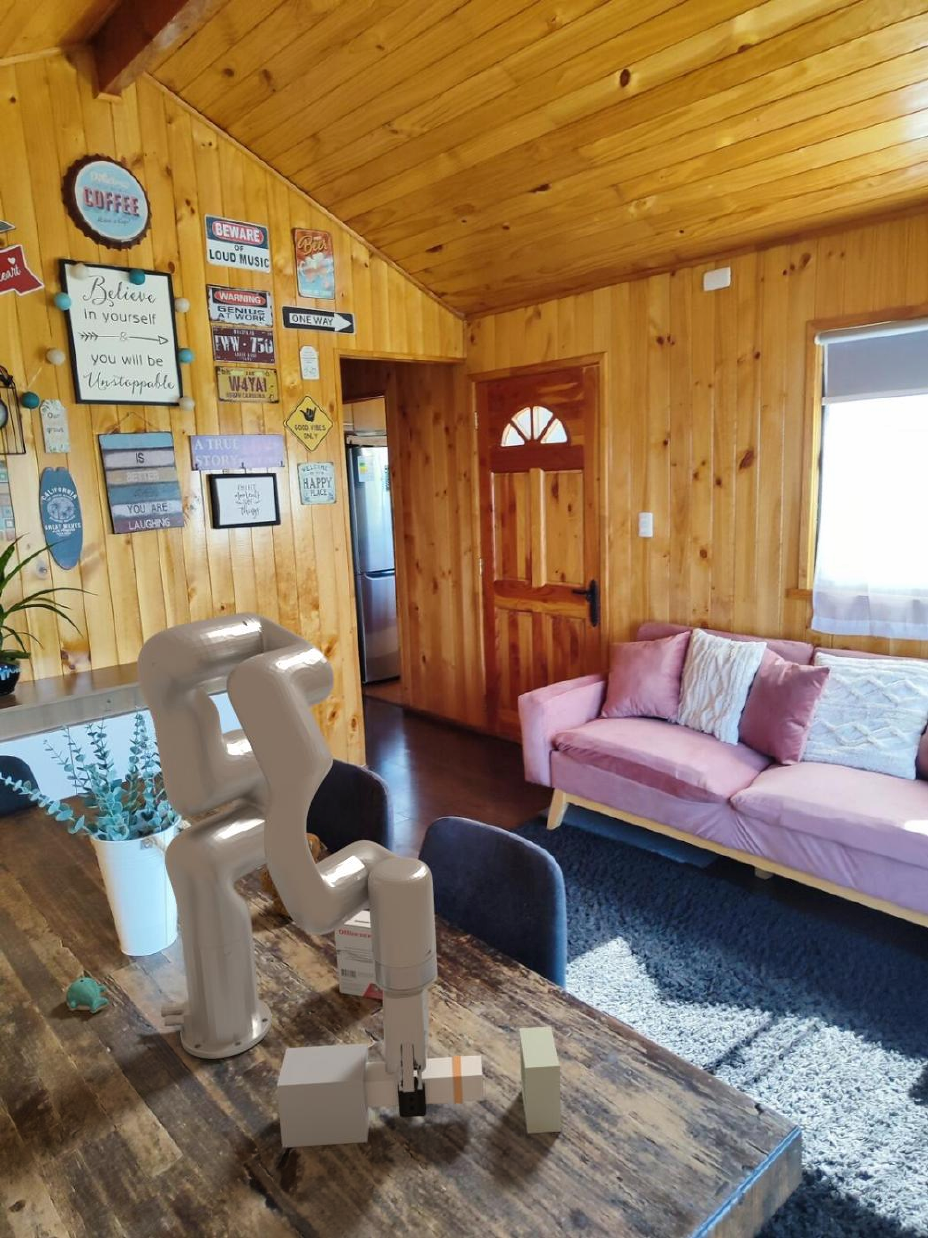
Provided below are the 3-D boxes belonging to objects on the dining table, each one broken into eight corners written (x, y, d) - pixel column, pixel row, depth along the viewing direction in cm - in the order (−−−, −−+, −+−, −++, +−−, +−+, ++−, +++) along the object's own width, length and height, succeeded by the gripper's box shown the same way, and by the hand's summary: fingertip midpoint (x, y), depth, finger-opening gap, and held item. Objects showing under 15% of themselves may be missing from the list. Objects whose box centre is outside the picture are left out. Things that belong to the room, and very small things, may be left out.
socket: (527, 1133, 97) (525, 1068, 96) (521, 1090, 104) (519, 1028, 103) (561, 1131, 97) (559, 1065, 96) (552, 1088, 104) (551, 1026, 103)
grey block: (282, 1147, 97) (276, 1086, 95) (291, 1107, 103) (286, 1048, 102) (367, 1142, 97) (362, 1080, 96) (371, 1102, 103) (367, 1043, 102)
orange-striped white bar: (282, 1114, 98) (280, 1087, 97) (287, 1092, 101) (285, 1066, 101) (483, 1101, 98) (482, 1075, 98) (481, 1080, 102) (480, 1054, 101)
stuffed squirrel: (348, 896, 155) (343, 831, 153) (292, 931, 144) (286, 861, 142) (310, 883, 161) (305, 820, 159) (254, 916, 150) (248, 848, 148)
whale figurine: (95, 988, 130) (92, 966, 130) (119, 1004, 126) (116, 982, 125) (58, 1007, 126) (55, 985, 125) (82, 1025, 121) (79, 1001, 121)
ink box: (402, 983, 128) (398, 913, 126) (389, 1002, 123) (384, 930, 121) (352, 974, 130) (347, 906, 129) (337, 993, 126) (332, 922, 124)
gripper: (378, 928, 105) (386, 1057, 108) (367, 1010, 89) (378, 1159, 92) (436, 925, 105) (443, 1053, 108) (437, 1006, 89) (445, 1155, 92)
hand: (413, 1100), depth 100 cm, fingers closed on orange-striped white bar, 3 cm apart
